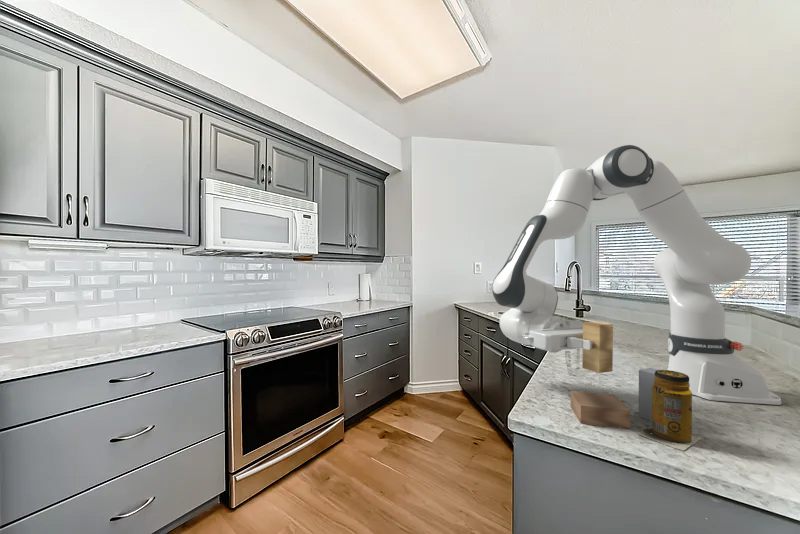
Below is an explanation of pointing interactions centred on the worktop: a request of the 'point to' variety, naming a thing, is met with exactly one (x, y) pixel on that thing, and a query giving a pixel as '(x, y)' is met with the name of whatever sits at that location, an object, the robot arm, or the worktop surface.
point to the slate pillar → (646, 392)
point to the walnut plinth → (600, 409)
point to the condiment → (671, 410)
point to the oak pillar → (598, 347)
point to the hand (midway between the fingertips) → (601, 344)
